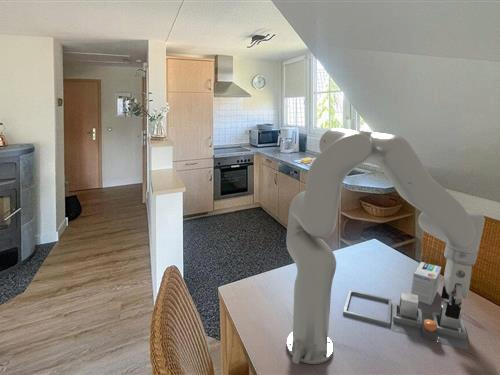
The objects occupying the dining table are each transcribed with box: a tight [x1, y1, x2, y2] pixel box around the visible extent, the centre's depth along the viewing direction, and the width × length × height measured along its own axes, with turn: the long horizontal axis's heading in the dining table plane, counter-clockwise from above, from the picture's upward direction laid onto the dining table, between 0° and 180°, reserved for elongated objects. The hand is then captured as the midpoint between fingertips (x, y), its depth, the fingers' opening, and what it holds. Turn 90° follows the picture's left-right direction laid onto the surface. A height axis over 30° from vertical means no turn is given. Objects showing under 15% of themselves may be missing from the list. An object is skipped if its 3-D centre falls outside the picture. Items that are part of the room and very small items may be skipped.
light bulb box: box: [410, 261, 442, 306], centre depth 110 cm, size 11×7×11 cm, turn 141°
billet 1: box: [399, 291, 419, 321], centre depth 98 cm, size 4×5×7 cm
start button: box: [424, 319, 437, 332], centre depth 90 cm, size 3×3×2 cm
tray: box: [342, 289, 393, 327], centre depth 104 cm, size 14×14×2 cm
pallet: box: [391, 302, 470, 352], centre depth 95 cm, size 13×19×4 cm
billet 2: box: [438, 300, 463, 331], centre depth 94 cm, size 4×5×7 cm
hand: (449, 307), depth 93 cm, fingers open, 9 cm apart
